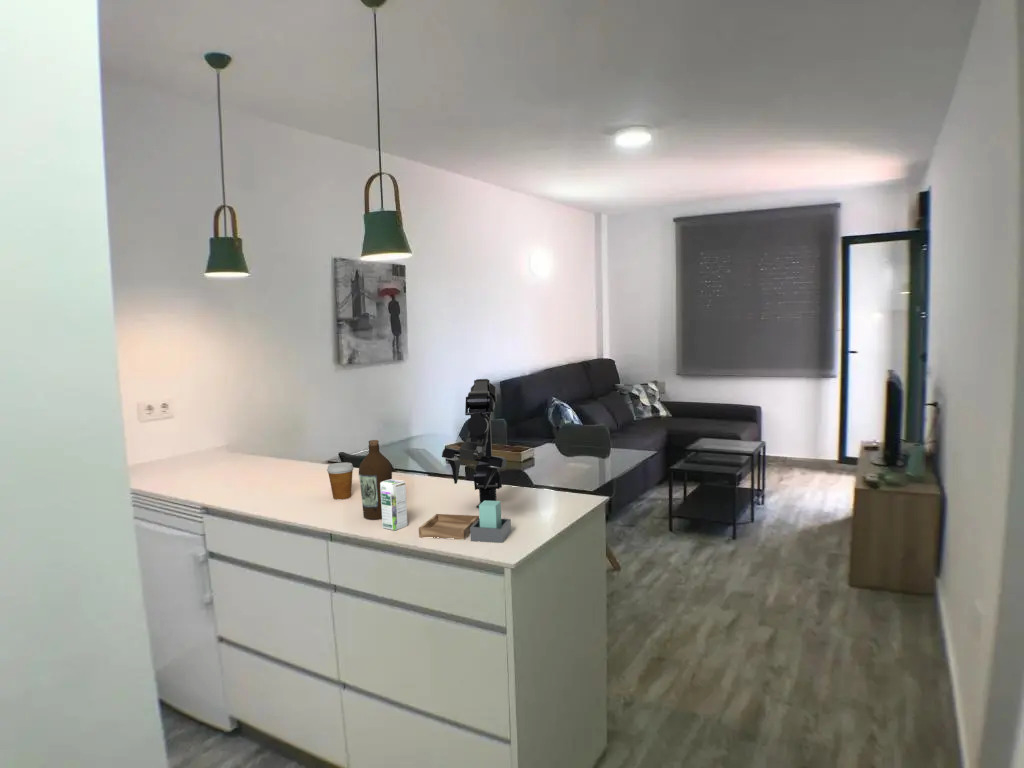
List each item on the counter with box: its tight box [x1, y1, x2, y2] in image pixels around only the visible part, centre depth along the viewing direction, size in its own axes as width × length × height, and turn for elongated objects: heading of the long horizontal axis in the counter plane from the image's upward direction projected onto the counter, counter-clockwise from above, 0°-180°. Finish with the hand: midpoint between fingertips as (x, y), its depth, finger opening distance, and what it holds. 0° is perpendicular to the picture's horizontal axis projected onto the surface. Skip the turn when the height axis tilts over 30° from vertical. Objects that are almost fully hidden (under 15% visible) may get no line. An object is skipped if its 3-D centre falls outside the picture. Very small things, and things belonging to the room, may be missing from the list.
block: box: [478, 500, 502, 528], centre depth 195 cm, size 5×5×10 cm
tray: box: [418, 513, 480, 540], centre depth 202 cm, size 14×14×3 cm
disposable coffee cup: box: [326, 462, 355, 500], centre depth 245 cm, size 10×10×12 cm
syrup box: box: [380, 478, 408, 531], centre depth 207 cm, size 6×6×14 cm
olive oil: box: [358, 439, 393, 521], centre depth 219 cm, size 11×11×25 cm
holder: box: [469, 518, 512, 544], centre depth 195 cm, size 9×9×4 cm
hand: (470, 486), depth 199 cm, fingers open, 9 cm apart
